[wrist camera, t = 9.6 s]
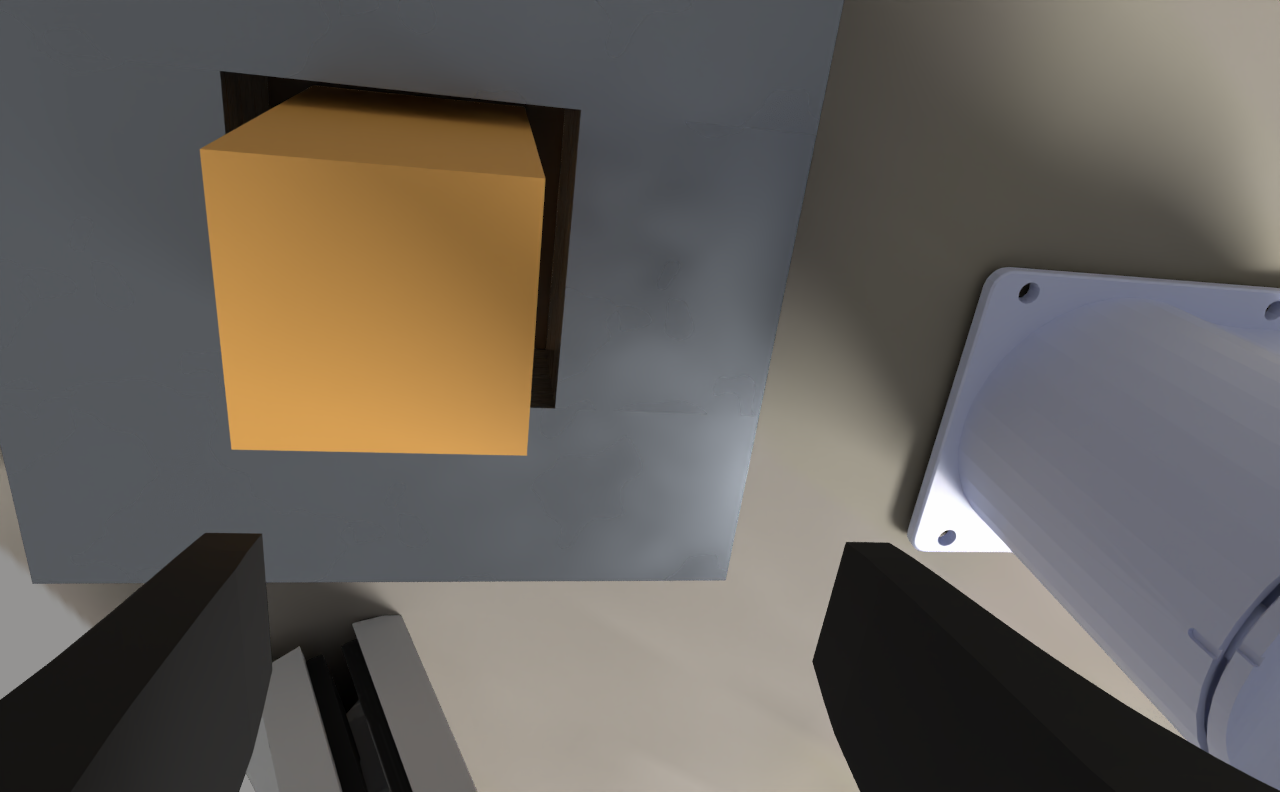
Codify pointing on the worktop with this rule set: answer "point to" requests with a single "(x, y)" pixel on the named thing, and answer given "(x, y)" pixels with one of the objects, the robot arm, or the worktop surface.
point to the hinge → (357, 723)
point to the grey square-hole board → (562, 373)
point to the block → (377, 273)
